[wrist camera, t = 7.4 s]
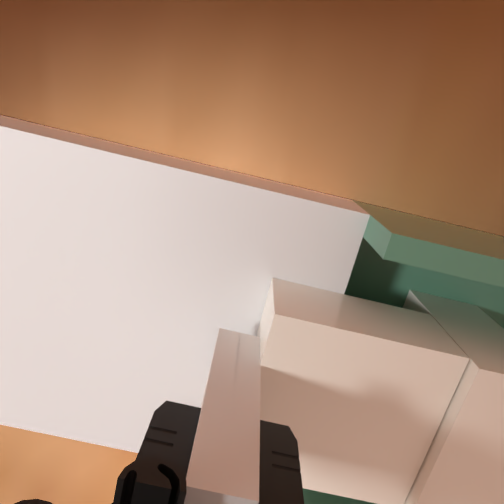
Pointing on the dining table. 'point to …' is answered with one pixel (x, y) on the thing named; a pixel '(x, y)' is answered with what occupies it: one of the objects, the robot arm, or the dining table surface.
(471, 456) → the tile
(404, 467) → the tile
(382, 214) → the box
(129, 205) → the board
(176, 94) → the dining table surface
